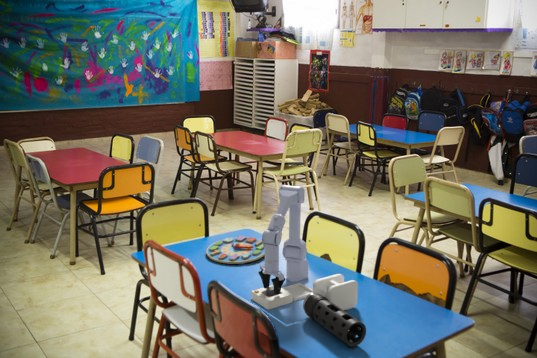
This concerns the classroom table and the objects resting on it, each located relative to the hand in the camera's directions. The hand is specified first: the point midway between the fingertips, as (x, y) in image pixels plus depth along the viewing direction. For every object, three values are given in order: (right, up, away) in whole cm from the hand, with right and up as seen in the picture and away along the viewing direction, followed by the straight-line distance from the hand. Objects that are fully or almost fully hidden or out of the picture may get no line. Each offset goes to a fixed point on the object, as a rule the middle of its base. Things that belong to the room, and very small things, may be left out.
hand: (271, 291), depth 234 cm
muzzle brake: (+22, -11, -23) cm, 34 cm away
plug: (0, -5, +1) cm, 5 cm away
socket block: (0, -5, +1) cm, 5 cm away
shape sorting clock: (-17, +7, +55) cm, 58 cm away
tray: (+11, -3, +8) cm, 14 cm away
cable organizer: (+25, -6, -3) cm, 26 cm away
